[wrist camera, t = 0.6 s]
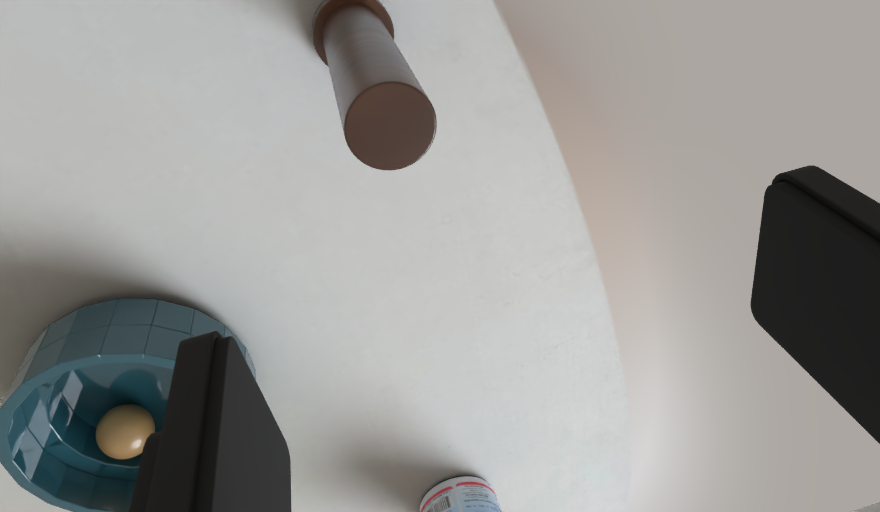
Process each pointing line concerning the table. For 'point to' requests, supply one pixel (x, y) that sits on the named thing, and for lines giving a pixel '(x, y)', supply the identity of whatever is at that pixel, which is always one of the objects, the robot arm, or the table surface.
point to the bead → (124, 431)
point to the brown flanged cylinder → (373, 84)
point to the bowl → (92, 397)
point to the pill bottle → (461, 496)
